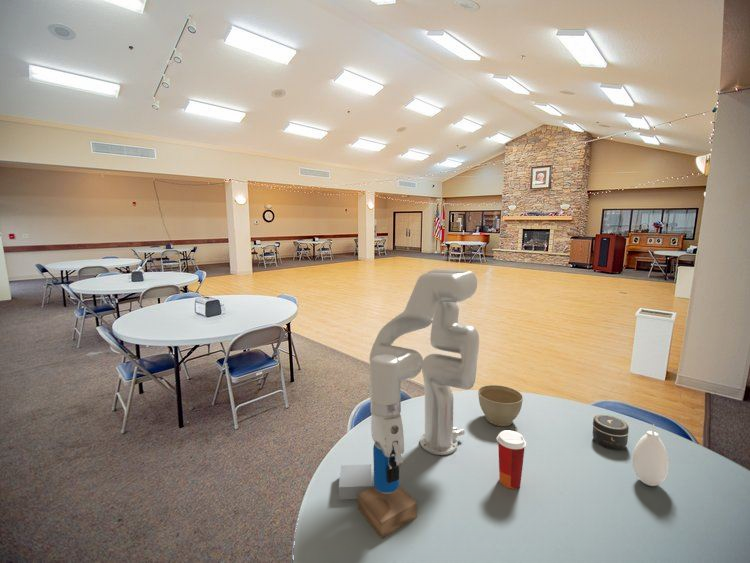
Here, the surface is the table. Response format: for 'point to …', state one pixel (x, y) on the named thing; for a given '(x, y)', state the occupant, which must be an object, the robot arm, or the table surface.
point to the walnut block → (386, 509)
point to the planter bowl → (500, 404)
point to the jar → (610, 432)
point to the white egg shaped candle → (650, 459)
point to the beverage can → (382, 471)
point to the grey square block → (354, 480)
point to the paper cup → (510, 458)
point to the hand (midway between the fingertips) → (386, 471)
